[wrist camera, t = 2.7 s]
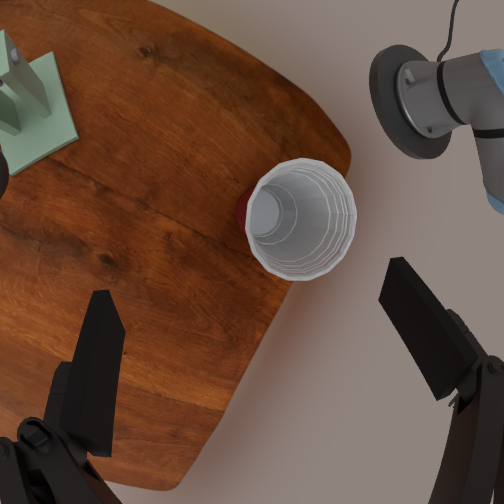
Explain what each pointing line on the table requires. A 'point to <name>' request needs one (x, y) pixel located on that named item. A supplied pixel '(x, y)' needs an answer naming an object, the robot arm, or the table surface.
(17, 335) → the table surface
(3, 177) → the switch lever
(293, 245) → the plastic cup
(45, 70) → the switch bracket
